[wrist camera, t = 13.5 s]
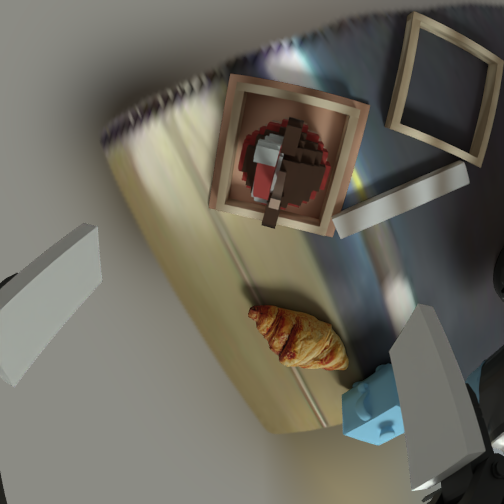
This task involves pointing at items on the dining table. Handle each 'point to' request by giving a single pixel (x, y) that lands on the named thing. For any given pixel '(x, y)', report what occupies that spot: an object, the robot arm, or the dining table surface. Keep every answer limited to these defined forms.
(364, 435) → the teapot
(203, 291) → the dining table surface
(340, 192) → the square wooden frames
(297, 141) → the cake
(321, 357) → the croissant
